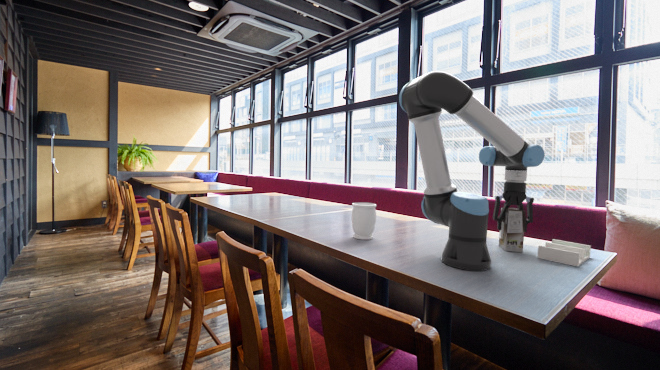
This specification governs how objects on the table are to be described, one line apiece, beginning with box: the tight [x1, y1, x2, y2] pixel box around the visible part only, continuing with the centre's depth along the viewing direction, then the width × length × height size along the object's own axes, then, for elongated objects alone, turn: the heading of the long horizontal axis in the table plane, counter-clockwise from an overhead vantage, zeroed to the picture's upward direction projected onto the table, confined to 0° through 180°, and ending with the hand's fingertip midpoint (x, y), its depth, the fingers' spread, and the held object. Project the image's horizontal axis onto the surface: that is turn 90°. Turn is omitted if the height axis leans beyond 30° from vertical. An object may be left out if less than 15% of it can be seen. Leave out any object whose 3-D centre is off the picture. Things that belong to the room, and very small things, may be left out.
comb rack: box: [537, 238, 592, 267], centre depth 118 cm, size 12×18×4 cm
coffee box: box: [498, 207, 527, 253], centre depth 129 cm, size 9×6×16 cm
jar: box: [351, 201, 378, 241], centre depth 140 cm, size 11×10×15 cm
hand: (511, 238), depth 129 cm, fingers closed on coffee box, 7 cm apart
